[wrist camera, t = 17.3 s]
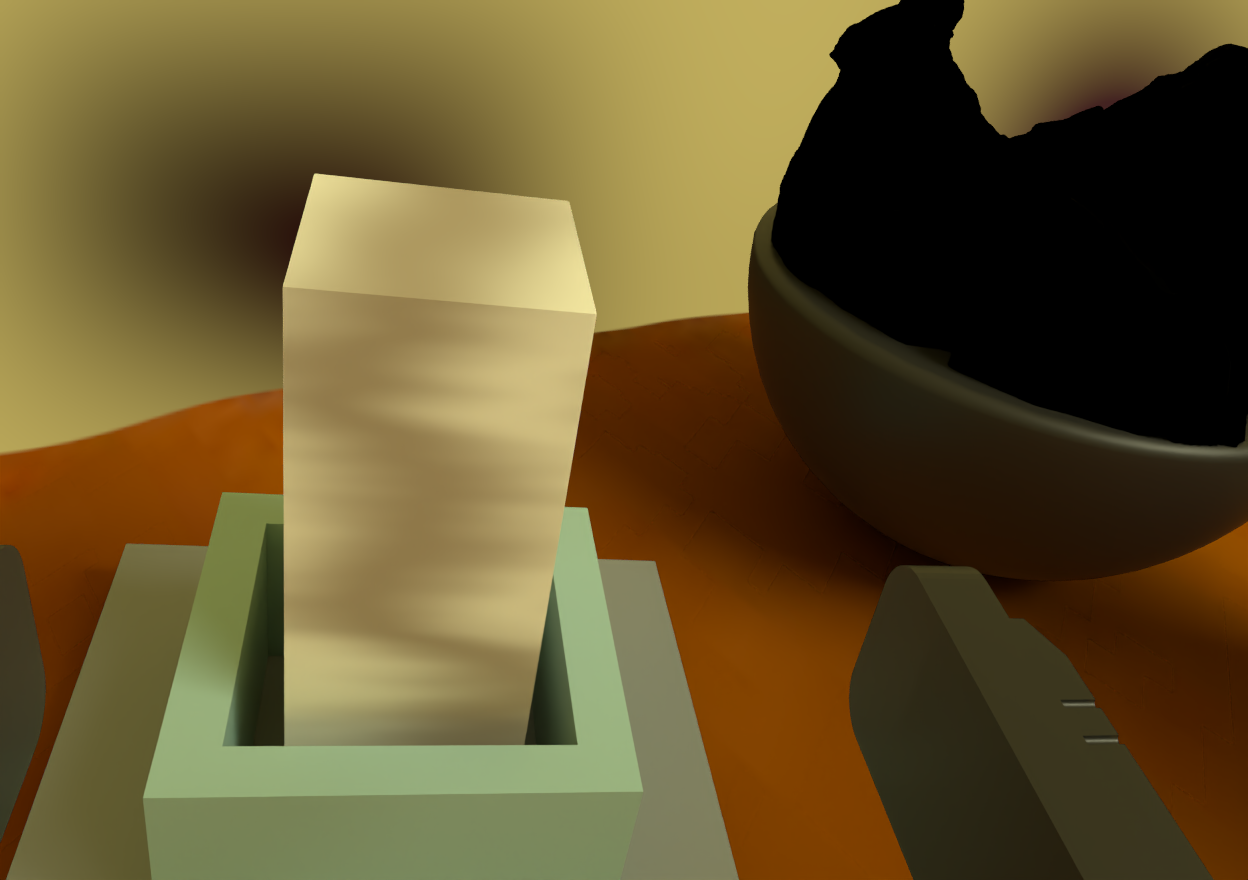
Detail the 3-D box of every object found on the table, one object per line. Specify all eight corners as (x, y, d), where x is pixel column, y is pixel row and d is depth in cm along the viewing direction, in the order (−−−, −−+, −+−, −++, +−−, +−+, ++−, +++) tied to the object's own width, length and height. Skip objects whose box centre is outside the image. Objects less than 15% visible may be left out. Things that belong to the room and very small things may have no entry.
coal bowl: (1321, 637, 41) (1660, 145, 31) (915, 781, 31) (1210, 143, 21) (962, 369, 55) (1113, -27, 45) (610, 414, 46) (701, -73, 36)
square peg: (498, 688, 30) (568, 200, 22) (506, 847, 26) (596, 314, 18) (307, 685, 29) (314, 173, 21) (285, 850, 25) (282, 286, 17)
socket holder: (646, 595, 36) (681, 446, 33) (770, 1103, 23) (848, 937, 20) (130, 582, 33) (113, 414, 30) (-68, 1168, 20) (-137, 981, 16)
